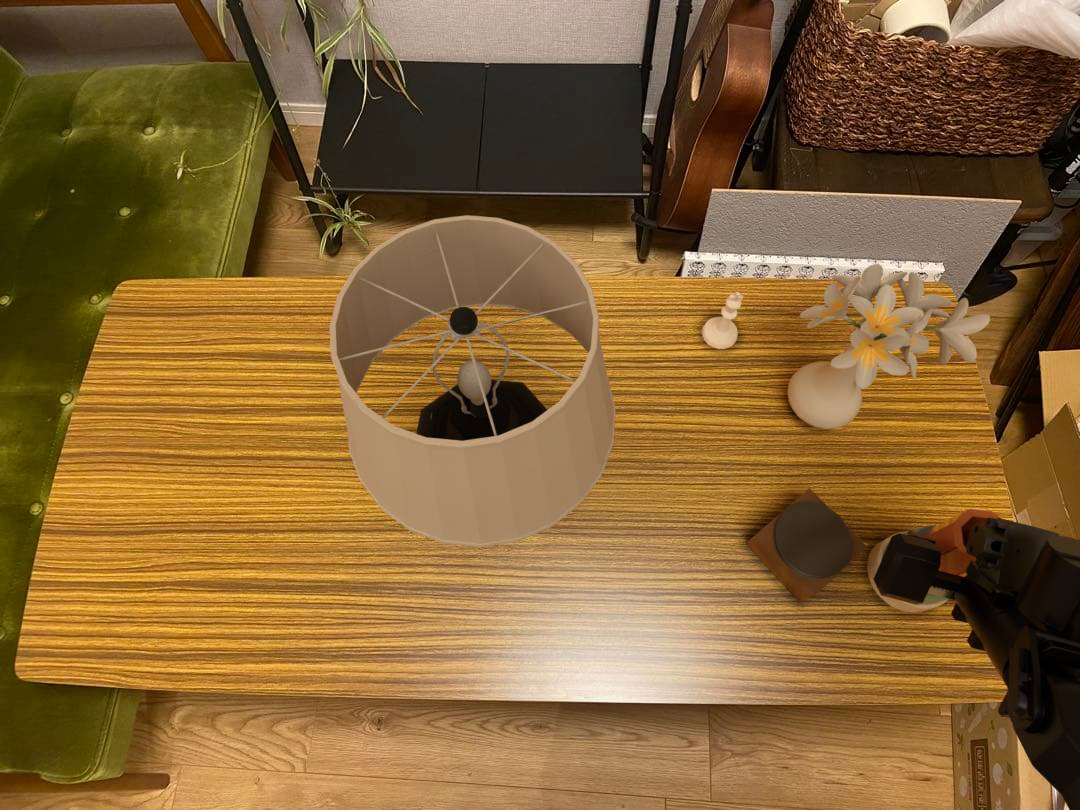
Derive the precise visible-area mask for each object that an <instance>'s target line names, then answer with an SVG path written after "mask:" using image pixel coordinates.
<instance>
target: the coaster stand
mask: <svg viewBox="0 0 1080 810" xmlns="http://www.w3.org/2000/svg"><path fill="white" fill-rule="evenodd" d="M745 545H746V546H747V547H748V548H749V550H751V552H752V553H753V554H754V555H755V556H756V557H757V558H758V559H759V561H761V562H762V563H763V565H764V566H765V567H766V568H767V569H768V570H769V571H770V572H771V573H772V574H773V575H774V577H775V579H777V580H778V581H779V582H780V583H781V584H782V586H784V587H785V589H786V590H787V591H788V592H789V593H790V594H791V595H792V596H793V597H794V598H795V599H796V601H797V602H798V603H799V604H801V603H803V602H805V601H807V600H808V599H811V598H812V597H815V596H816V594H818V593H819V592H820V591H822V589H823V588H824V587H826V586H827V584H829V583H830V582H831V581H832V580H833V579H834V578H835V577H836V576H838V575H839V574H840V573H841V572H842V571H843V570H844V569H845V568H846V567H847V566H849V564H851V563H852V562H853V560H855V559H856V558H857V557H858V556H859V555H860V554H862V553H863V552H864V551H865V550H866V549H867V548H868V545H867V544H866V543H865V542H864V541H863V540H862V539H861V538H860V537H859V536H858V535H857V534H856V533H855V532H854V531H853V530H852V529H851V528H850V527H849V526H848V525H847V523H846V522H845V520H844V519H843V518H842V517H841V516H840V515H839V514H838V513H837V512H836V511H834V510H833V509H832V508H830V507H829V506H828V505H827V504H826V503H825V502H824V501H823V500H822V499H821V498H820V496H819V495H817V493H815V492H814V491H813V490H812V489H811V488H810V487H809V488H808V489H807V490H805V491H804V492H803V493H802V494H801V495H799V496H798V498H796V499H795V500H794V501H793V502H791V503H790V504H789V505H788V506H787V507H786V508H785V509H783V510H782V511H781V512H780V513H778V515H776V516H775V517H774V518H773V519H772V520H770V522H768V523H767V524H766V525H765V526H763V527H762V528H761V529H760V530H759V531H758V532H757V533H756V534H754V535H753V537H751V538H750V539H749V540H748V541H747V542H746V543H745Z"/></svg>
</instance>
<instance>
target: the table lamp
mask: <svg viewBox="0 0 1080 810" xmlns="http://www.w3.org/2000/svg"><path fill="white" fill-rule="evenodd" d="M472 307H474V308H475V307H479V308H478V309H477V310H476V311H474V310H473V309H472ZM485 307H498V308H499V307H500V308H508V309H509V308H511V309H517V310H519V311H522V312H525V313H529V315H526V316H522V317H518V318H515V319H510V320H505V321H502V322H499V323H494V324H491V325H489V324H487V323H485V322H480V321H478V315H479V314H480V312H482V310H484V308H485ZM452 310H453V311H452ZM449 311H452V312H451V314H450V316H449V317H447V316H446V315H442V314H443V313H446V312H449ZM435 316H437V317H439V318H441V319H443V320H445V321H447V325H448V329H449V330H448V329H447V330H445V331H440V332H436V333H433V334H429V335H425V336H420V337H417V338H413V339H409V340H404V341H401V342H397V343H393V344H391V343H392V342H393V341H394V340H395V339H396V338H398V337H399V336H401V335H402V334H403V333H405V332H407V331H408V330H410V329H411V328H413V327H414V326H416V325H418V324H419V323H420V322H422V321H425V320H427V319H430V318H432V317H435ZM534 317H542V318H544V319H546V320H548V321H549V322H550V323H552V324H554V325H555V326H557V327H558V328H561V329H562V330H564V331H565V332H567V333H568V334H570V336H571V337H573V338H574V339H575V340H576V341H577V342H578V344H579V345H580V346H581V347H582V348H583V349H584V350H585V351H586V352H587V356H586V359H585V362H584V363H583V366H582V368H581V371H580V373H579V376H578V377H577V378H576V379H574V378H573V377H570V376H568V375H566V374H564V373H562V372H560V371H558V370H556V369H553V368H551V367H550V366H547V365H544V364H543V363H541V362H538V361H536V360H534V359H532V358H530V357H528V356H525V355H524V354H522V353H519V352H517V351H515V350H513V349H511V348H509V346H508V344H507V342H506V340H505V337H503V335H502V334H501V333H500V332H499V331H498V330H497V329H495V328H496V327H499V326H504V325H506V324H512V323H516V322H518V321H519V322H520V321H522V320H526V319H531V318H534ZM485 330H489V331H491V332H492V333H493V334H495V335H496V336H497V337H498V338H499V340H500V341H501V342H502V344H500V343H498V342H496V341H494V340H492V339H489V338H488V337H486V336H483V335H482V334H481V331H485ZM442 335H443V336H442ZM439 336H442V337H441V338H440V340H439V341H438V343H437V345H436V346H435V350H434V353H433V356H432V364H431V365H430V366H429V367H428V369H427V370H425V372H424V373H423V374H422V375H421V376H419V378H418V379H417V380H416V381H415V382H414V383H413V384H412V385H411V386H410V387H409V388H408V389H407V390H406V391H405V392H404V394H403V395H402V396H401V397H400V398H399V399H398V400H397V401H396V402H395V403H394V404H393V405H392V406H391V407H390V408H389V409H388V411H386V413H384V415H379V414H378V413H376V412H375V411H373V410H372V409H371V408H370V407H368V406H367V405H366V404H365V402H364V401H363V400H362V399H361V398H360V396H359V395H358V391H359V388H360V387H361V385H362V383H363V381H364V380H365V378H366V375H367V374H368V372H369V370H370V368H371V366H372V364H373V362H374V361H375V360H376V359H377V358H378V357H379V356H380V355H381V353H382V352H384V350H389V349H393V348H396V347H399V346H404V345H408V344H412V343H416V342H420V341H423V340H427V339H431V338H435V337H439ZM449 336H451V339H452V343H451V344H450V346H448V347H447V348H446V349H445V350H444V352H443V353H441V354H440V356H439V357H438V354H439V351H440V348H441V347H442V345H443V343H444V342H445V341H446V339H447V338H448V337H449ZM471 337H477V338H480V339H482V340H484V341H486V342H488V343H490V344H492V345H494V346H497V347H498V348H501V349H503V350H505V355H506V357H505V363H504V366H503V368H502V370H501V372H500V374H499V376H498V378H497V379H492V376H491V375H492V374H491V373H490V371H489V369H488V367H487V366H486V365H485V364H484V363H482V362H481V361H479V360H476V358H475V356H474V352H473V348H472V345H471V341H470V338H471ZM464 339H466V344H467V346H468V347H467V348H468V349H469V350H468V351H469V353H470V357H471V360H467V361H465V362H464V363H463V364H462V365H461V366H460V367H459V369H458V373H457V375H456V376H457V378H456V381H457V384H455V385H454V386H452V387H451V388H450V387H449V386H447V385H446V384H444V382H443V381H442V380H441V379H440V377H439V376H438V372H437V367H436V366H437V364H439V362H440V361H441V360H442V359H443V358H444V356H446V355H447V354H448V352H450V350H451V349H452V348H453V347H454V346H455V345H456V344H458V342H459V341H460V340H464ZM329 345H330V346H329V348H330V358H331V361H332V363H333V366H334V368H335V372H336V374H337V379H338V386H339V393H340V398H341V405H342V410H343V415H344V421H345V425H346V432H347V442H348V443H347V445H348V452H349V455H350V457H351V460H352V463H353V466H354V469H355V471H356V475H357V477H358V479H359V482H360V484H362V486H363V487H364V488H365V490H366V491H367V493H368V494H369V495H370V496H371V498H372V499H373V501H374V502H375V503H376V505H377V507H378V508H380V510H381V511H382V512H384V513H385V514H386V515H388V516H389V517H390V518H392V519H393V520H394V521H396V522H397V523H398V524H399V525H401V526H402V527H404V528H405V529H406V530H407V531H409V532H412V533H415V534H417V535H420V536H423V537H425V538H427V539H430V540H433V541H436V542H439V543H441V544H444V545H451V546H452V545H454V546H463V547H473V548H486V547H492V546H498V545H506V544H511V543H517V542H518V543H519V542H521V541H524V540H526V539H527V538H530V537H532V536H535V535H537V534H539V533H541V532H543V531H546V530H548V529H550V528H552V527H554V526H555V525H557V524H558V523H559V522H560V521H562V520H563V519H564V518H565V517H566V516H568V515H569V514H571V513H572V512H573V511H574V510H575V509H576V508H578V507H579V506H580V505H582V504H583V502H584V501H585V500H586V499H587V497H588V495H589V494H590V493H591V491H592V490H593V488H594V487H595V486H596V485H597V483H598V482H599V480H600V479H601V478H602V476H603V474H604V471H605V468H606V466H607V463H608V460H609V457H610V455H611V451H612V450H613V446H614V443H615V429H616V415H617V414H616V411H617V410H616V404H615V401H614V396H613V391H612V388H611V383H610V379H609V377H608V372H607V367H606V362H605V357H604V352H603V347H602V342H601V335H600V315H599V310H598V306H597V302H596V298H595V293H594V289H593V287H592V286H591V284H590V282H589V280H588V279H587V277H586V275H585V274H584V272H583V270H582V268H581V267H580V265H579V263H578V262H577V261H576V260H575V259H574V258H572V256H570V255H569V253H567V252H566V251H565V250H564V248H562V247H561V246H560V245H559V244H558V243H557V242H556V241H554V240H553V239H551V238H549V237H548V236H546V235H544V234H542V233H541V232H539V231H537V230H536V229H534V228H532V227H530V226H527V225H524V224H520V223H517V222H514V221H510V220H507V219H504V218H500V217H491V216H480V215H468V214H467V215H458V216H449V217H443V218H436V219H435V218H434V219H432V220H428V221H426V222H423V223H419V224H417V225H414V226H412V227H408V228H406V229H403V230H401V231H399V232H398V233H396V234H395V235H393V236H392V237H390V238H388V239H387V240H385V241H382V243H380V244H378V245H377V246H375V247H374V248H373V249H372V250H371V251H370V252H369V253H368V254H367V255H366V256H365V257H364V258H363V259H362V260H361V261H360V262H359V263H357V265H356V266H355V267H354V268H353V269H352V271H351V272H350V274H349V276H348V277H347V279H346V281H345V283H344V284H343V286H342V287H341V289H340V291H339V292H338V294H337V296H336V300H335V303H334V307H333V312H332V314H331V319H330V322H329ZM510 353H511V354H513V355H516V356H517V357H519V358H522V359H524V360H526V361H528V362H531V363H533V364H534V365H536V366H539V367H541V368H543V369H545V370H547V371H549V372H551V373H554V374H556V375H558V376H560V377H562V378H564V379H566V380H568V381H571V382H573V383H572V385H571V386H570V387H569V388H568V390H567V391H566V392H565V394H564V395H562V397H561V398H560V400H559V401H558V402H556V403H555V404H554V405H552V406H550V407H549V408H548V409H547V407H546V406H545V405H544V404H543V403H542V401H540V400H539V399H538V397H537V396H536V395H535V394H534V393H533V392H532V391H531V389H529V387H528V386H527V385H526V384H525V383H524V382H523V381H516V380H515V381H514V380H504V379H503V377H504V376H505V374H506V371H507V369H508V366H509V364H510V357H511V356H510ZM437 357H438V358H437ZM431 370H432V372H433V375H434V378H435V380H436V381H437V383H438V384H439V385H440V386H441V387H443V389H445V390H446V391H445V392H444V393H442V394H441V395H439V396H438V397H437V398H436V399H434V400H433V401H431V402H430V403H428V404H427V405H425V406H424V407H422V408H421V409H420V412H419V418H418V423H417V429H416V433H415V432H412V431H410V430H407V429H404V428H401V427H399V426H396V425H393V424H392V423H390V422H389V421H388V420H386V418H387V417H388V415H389V414H391V412H392V411H393V410H394V409H396V407H397V406H398V405H399V404H400V403H402V401H403V400H404V399H405V398H406V396H408V394H409V393H411V391H412V390H414V388H415V387H416V386H417V385H418V384H419V383H420V382H421V381H422V380H423V379H424V378H425V377H426V376H427V375H428V374H429V372H431ZM502 379H503V380H502Z"/></svg>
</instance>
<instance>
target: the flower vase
mask: <svg viewBox="0 0 1080 810" xmlns="http://www.w3.org/2000/svg"><path fill="white" fill-rule="evenodd" d="M883 273H884V268H883V266H882V265H881V264H878V263H875V264H871V265H869V266H868V267H866V268H865V269H864V270H863V272H862V273H861V276H857V277H855V276H852V275H849V274H848V275H845V274H836V275H833V276H832V280H833V281H834V282H833V283H831V284H829V285H828V286H827V288H826V289H825V290H824V293H823V302H824V304H825V305H821V304H817V305H814V306H813V305H812V306H811V307H808V308H806V309H805V310H803V311H802V312H801V313H800V314H799V318H802V319H812V320H811V321H809V323H807V325H806V328H805V329H806V330H808V329H812V328H814V327H816V326H819V325H821V324H824V323H828V322H832V321H835V320H839V319H842V320H843V321H844V322H846V323H848V324H849V325H851V326H853V327H854V330H853V331H852V332H851V334H850V336H849V340H850V341H849V342H850V343H849V345H848V346H847V347H846V349H844V351H843V352H842V353H841V354H839V355H837V356H835V357H833V358H832V359H831V361H827V360H824V361H823V360H819V361H813V362H809V363H807V364H805V365H803V366H801V367H800V368H798V369H797V370H796V371H795V373H794V374H792V376H791V377H790V380H789V382H788V385H787V391H786V392H787V393H786V395H787V400H788V402H789V405H790V407H791V410H792V412H793V413H794V414H795V415H796V416H797V417H798V418H799V419H800V420H801V421H802V422H804V423H805V424H806V425H809V426H810V427H811V426H812V427H813V428H818V429H821V430H835V429H841V428H843V427H845V426H847V425H848V424H850V423H852V422H853V421H854V420H855V418H856V417H857V416H858V414H859V412H860V410H861V408H862V405H863V391H862V389H863V390H864V389H868V388H869V387H870V386H871V385H872V384H873V383H874V382H875V380H876V378H877V374H878V367H879V369H880V370H882V371H883V372H885V373H887V374H890V375H892V376H898V377H899V376H905V375H907V374H908V373H909V372H910V375H911V377H912V379H913V380H915V379H916V377H917V372H918V361H917V357H916V355H915V354H917V355H924V354H926V353H927V352H928V350H929V347H930V340H929V338H928V337H927V336H926V335H924V334H919V333H921V332H922V331H934V334H935V336H937V337H938V339H939V352H938V362H939V364H940V365H941V366H944V365H946V364H947V363H949V361H950V360H951V358H952V356H953V350H954V351H955V353H956V354H957V355H958V356H960V357H961V359H963V360H964V361H965V362H968V363H972V362H975V361H976V359H977V358H978V357H977V356H978V353H977V348H976V345H975V343H974V342H973V341H972V339H970V338H969V337H968V335H973V334H975V333H978V332H980V331H982V330H983V329H985V328H986V327H987V326H988V325H989V323H990V321H991V316H990V315H989V314H988V313H977V314H974V315H970V316H967V313H968V311H969V299H967V298H966V297H963V298H961V299H960V300H959V301H958V302H957V303H956V305H955V307H954V308H953V310H952V312H951V314H950V315H949V313H947V312H946V311H944V310H942V309H941V308H943V307H944V308H945V307H949V306H951V305H952V304H953V303H952V300H951V299H949V298H948V297H946V296H944V295H941V294H937V293H928V294H925V285H924V282H923V280H922V278H921V277H920V276H919V275H918V274H917V273H916V272H913V271H911V272H909V274H908V272H907V271H899V272H895V273H891V274H889V275H886V276H885V277H883ZM907 275H908V281H907V282H908V283H907V282H906V281H905V279H904V277H906V276H907ZM882 277H883V278H882ZM896 282H897V284H898V286H899V289H900V292H901V294H902V297H903V300H904V304H905V306H904V307H900V308H899V307H898V308H897V309H895V306H896V303H897V294H896V290H895V289H894V287H893V286H892V285H893V284H894V283H896ZM837 283H838V284H837ZM839 284H840V285H842V286H843V287H840V285H839ZM924 294H925V295H924ZM923 295H924V296H923ZM873 298H875V302H874V305H873V303H872V299H873ZM850 304H851V305H852V308H854V309H855V310H856V312H858V313H859V314H860V315H861V316H862V317H863V318H862V319H860V320H859V321H858V322H856V321H854V320H853V319H852V318H850V317H849V316H847V312H848V309H849V305H850ZM894 309H895V310H894ZM932 315H933V316H937V317H940V318H941V317H942V318H945V320H941V321H938V322H937V323H936V324H935V325H928V323H929V321H930V319H931V318H932ZM965 316H966V317H965ZM910 324H911V325H910ZM906 325H909V327H907V328H906V329H905V328H903V327H902V326H906ZM965 335H967V336H965ZM898 350H899V351H900V353H901V355H902V356H903V358H904V360H905V362H904V361H903V360H902V359H900V358H899V357H897V356H896V355H894V354H892V353H893V352H896V351H898Z"/></svg>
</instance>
